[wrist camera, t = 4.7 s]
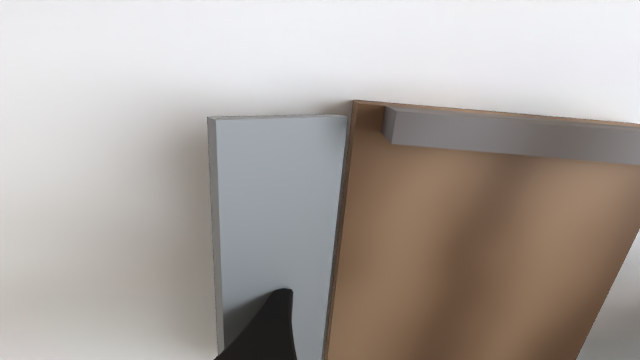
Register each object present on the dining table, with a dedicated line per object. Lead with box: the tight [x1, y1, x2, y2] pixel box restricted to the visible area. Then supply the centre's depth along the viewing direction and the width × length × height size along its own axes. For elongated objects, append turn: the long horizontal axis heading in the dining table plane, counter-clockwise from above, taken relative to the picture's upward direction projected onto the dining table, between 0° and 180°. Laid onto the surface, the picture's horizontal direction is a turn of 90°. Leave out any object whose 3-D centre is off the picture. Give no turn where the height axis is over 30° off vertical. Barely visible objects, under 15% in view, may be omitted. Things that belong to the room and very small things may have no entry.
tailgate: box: [207, 114, 348, 360], centre depth 12 cm, size 1×15×5 cm
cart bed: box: [324, 100, 640, 360], centre depth 13 cm, size 12×16×4 cm
